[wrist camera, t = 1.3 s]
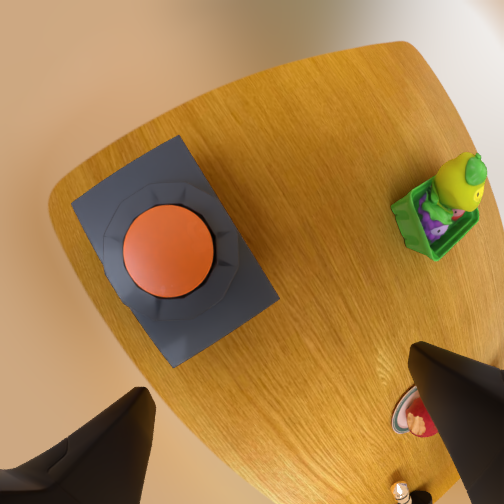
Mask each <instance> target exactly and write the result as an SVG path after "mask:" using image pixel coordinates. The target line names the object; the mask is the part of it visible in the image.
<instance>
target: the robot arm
mask: <svg viewBox="0 0 504 504" xmlns="http://www.w3.org/2000/svg"><path fill="white" fill-rule="evenodd" d="M408 368H409V371H410V373H411V376H412V378H413V380H414V383H415V385H416V387H417V390H418V392H419V395H420V397H421V400H422V402H423V404H424V406H425V408H426V410H427V411H428V413H429V415H430V417H431V419H432V421H433V423H434V424H435V426H436V428H437V430H438V432H439V434H440V436H441V438H442V440H443V442H444V444H445V446H446V448H447V450H448V452H449V454H450V456H451V458H452V460H453V462H454V464H455V466H456V468H457V471H458V473H459V475H460V477H461V479H462V482H463V483H464V486H465V488H466V490H467V493H468V496H469V498H470V500H471V503H472V504H504V370H502V369H501V370H500V369H499V368H496V367H493V366H490V365H487V364H484V363H481V362H479V361H476V360H473V359H470V358H467V357H464V356H462V355H459V354H456V353H453V352H451V351H448V350H445V349H442V348H440V347H437V346H434V345H431V344H429V343H426V342H423V341H420V342H417V343H414V344H412V345H411V347H410V352H409V359H408ZM155 413H156V405H155V402H154V400H153V399H152V396H151V394H150V392H149V390H148V389H147V388H146V387H134V388H133V389H132V390H130V391H129V392H128V393H127V394H125V395H124V396H123V397H121V398H120V399H119V400H117V401H116V402H115V403H113V404H112V405H111V406H109V407H108V408H107V409H105V410H104V411H102V412H101V413H100V414H98V415H97V416H96V417H94V418H93V419H92V420H90V421H89V422H88V423H86V424H85V425H83V426H82V427H81V428H79V429H78V430H76V431H75V432H74V433H72V434H71V435H70V436H68V438H65V439H64V440H62V441H61V442H59V443H58V444H57V445H55V446H53V447H52V448H50V449H49V450H47V451H45V452H44V453H42V454H40V455H39V456H37V457H35V458H33V459H31V460H29V461H28V462H26V463H24V464H22V465H20V466H18V467H16V468H13V469H7V470H2V469H0V504H140V499H141V494H142V489H143V484H144V479H145V474H146V469H147V465H148V460H149V456H150V451H151V447H152V440H153V431H154V422H155Z"/></svg>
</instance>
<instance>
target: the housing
mask: <svg viewBox="0 0 504 504" xmlns="http://www.w3.org/2000/svg"><path fill="white" fill-rule="evenodd" d="M71 205H72V207H73V209H74V211H75V213H76V215H77V217H78V219H79V221H80V223H81V225H82V227H83V229H84V231H85V233H86V235H87V237H88V239H89V241H90V242H91V244H92V246H93V248H94V250H95V252H96V253H97V255H98V257H99V259H100V261H101V262H102V264H103V266H104V272H105V275H106V276H107V278H108V280H109V281H110V283H111V285H112V286H113V288H114V290H115V291H116V293H117V294H118V296H119V298H120V299H121V301H122V302H123V303H124V304H125V305H126V306H128V307H129V308H130V309H131V311H132V312H133V314H134V315H135V317H136V318H137V320H138V321H139V323H140V324H141V326H142V327H143V328H144V330H145V331H146V333H147V334H148V335H149V337H150V338H151V340H152V341H153V342H154V344H155V345H156V346H157V348H158V349H159V350H160V352H161V353H162V354H163V356H164V357H165V358H166V360H167V361H168V362H169V364H170V365H171V366H172V367H173V368H175V367H177V366H178V365H180V364H181V363H183V362H185V361H186V360H188V359H190V358H191V357H193V356H194V355H196V354H198V353H199V352H201V351H202V350H204V349H206V348H207V347H209V346H210V345H212V344H213V343H215V342H217V341H218V340H220V339H221V338H223V337H224V336H226V335H227V334H229V333H230V332H232V331H233V330H235V329H236V328H238V327H240V326H241V325H243V324H244V323H246V322H247V321H249V320H250V319H251V318H253V317H254V316H256V315H257V314H259V313H260V312H262V311H263V310H265V309H266V308H268V307H269V306H271V305H272V304H273V303H275V302H276V301H278V300H279V299H280V298H279V296H278V294H277V293H276V291H275V289H274V288H273V286H272V285H271V283H270V281H269V280H268V278H267V276H266V275H265V273H264V272H263V270H262V268H261V267H260V265H259V264H258V262H257V260H256V259H255V257H254V255H253V254H252V252H251V251H250V249H249V247H248V246H247V244H246V242H245V241H244V239H243V238H242V236H241V234H240V233H239V231H238V229H237V228H236V226H235V225H234V223H233V221H232V220H231V218H230V216H229V215H228V213H227V212H226V210H225V208H224V207H223V205H222V203H221V202H220V200H219V199H218V197H217V195H216V194H215V192H214V190H213V189H212V187H211V186H210V184H209V182H208V181H207V179H206V178H205V176H204V174H203V173H202V171H201V169H200V168H199V166H198V165H197V163H196V161H195V160H194V158H193V156H192V155H191V153H190V152H189V150H188V148H187V147H186V145H185V143H184V142H183V140H182V139H181V137H180V135H178V136H176V137H174V138H172V139H170V140H168V141H166V142H165V143H163V144H161V145H159V146H158V147H156V148H154V149H152V150H151V151H149V152H147V153H146V154H144V155H142V156H140V157H139V158H137V159H136V160H134V161H132V162H131V163H129V164H127V165H126V166H124V167H123V168H121V169H120V170H118V171H116V172H115V173H113V174H112V175H110V176H109V177H107V178H106V179H104V180H103V181H101V182H100V183H99V184H97V185H96V186H94V187H93V188H91V189H90V190H89V191H87V192H86V193H84V194H83V195H82V196H80V197H79V198H78V199H76V200H75V201H73V202H72V203H71ZM161 205H175V206H180V207H183V208H186V209H188V210H190V211H191V212H193V213H195V214H196V215H197V216H198V217H199V218H200V219H201V220H202V221H203V222H204V224H205V225H206V226H207V228H208V230H209V232H210V235H211V238H212V242H213V261H212V264H211V268H210V270H209V272H208V274H207V276H206V277H205V279H204V280H203V281H202V283H201V284H200V285H199V286H197V287H196V288H195V289H194V290H192V291H190V292H189V293H187V294H184V295H181V296H177V297H159V296H155V295H152V294H150V293H148V292H146V291H144V290H143V289H142V288H140V287H139V286H138V285H137V284H136V283H135V282H134V281H133V279H132V278H131V277H130V275H129V273H128V271H127V269H126V266H125V263H124V257H123V245H124V240H125V236H126V234H127V231H128V229H129V228H130V226H131V224H132V223H133V222H134V220H135V219H136V218H137V217H138V216H139V215H141V214H142V213H143V212H145V211H147V210H149V209H151V208H153V207H157V206H161Z"/></svg>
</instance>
